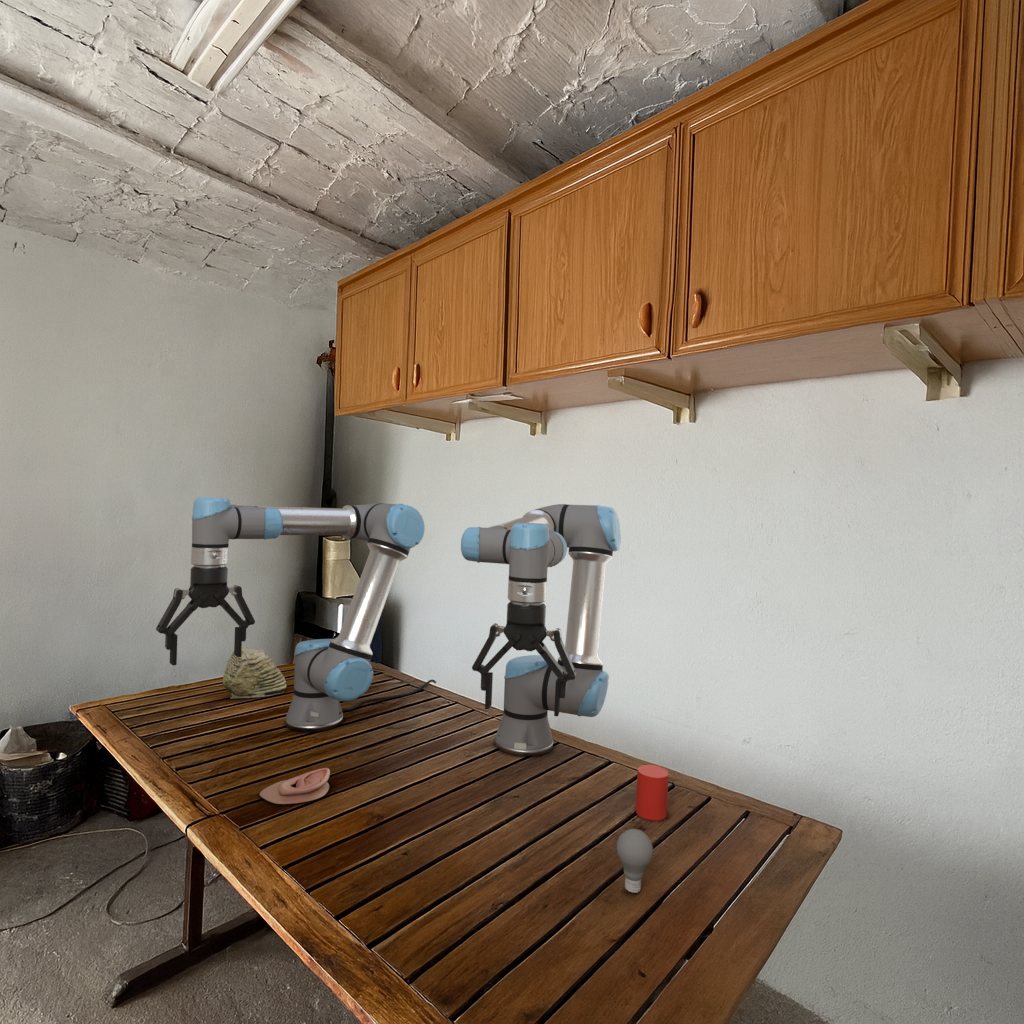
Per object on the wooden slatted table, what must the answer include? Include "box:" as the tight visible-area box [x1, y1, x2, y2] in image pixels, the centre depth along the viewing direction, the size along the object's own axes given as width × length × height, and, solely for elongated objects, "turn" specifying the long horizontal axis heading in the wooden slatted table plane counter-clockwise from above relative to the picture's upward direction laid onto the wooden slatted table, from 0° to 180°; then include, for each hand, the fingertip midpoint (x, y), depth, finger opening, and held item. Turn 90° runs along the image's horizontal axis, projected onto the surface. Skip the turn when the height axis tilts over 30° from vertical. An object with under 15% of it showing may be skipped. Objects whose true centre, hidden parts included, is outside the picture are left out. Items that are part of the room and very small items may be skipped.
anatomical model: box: [259, 767, 331, 805], centre depth 135 cm, size 13×4×12 cm
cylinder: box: [635, 764, 670, 822], centre depth 133 cm, size 6×6×9 cm
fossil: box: [222, 646, 288, 699], centre depth 198 cm, size 9×18×15 cm, turn 132°
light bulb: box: [615, 828, 654, 894], centre depth 106 cm, size 6×6×10 cm
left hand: (206, 659), depth 143 cm, fingers open, 13 cm apart
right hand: (522, 710), depth 124 cm, fingers open, 13 cm apart
